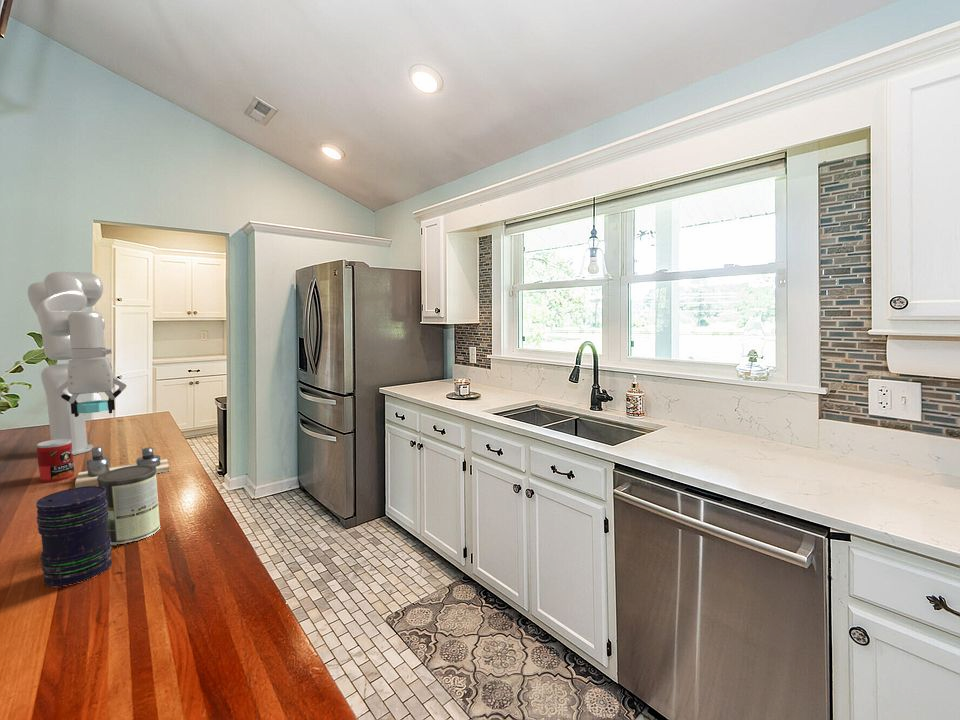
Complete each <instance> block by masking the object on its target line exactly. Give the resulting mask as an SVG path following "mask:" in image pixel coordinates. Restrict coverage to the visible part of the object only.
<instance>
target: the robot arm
mask: <svg viewBox="0 0 960 720" xmlns="http://www.w3.org/2000/svg"><path fill="white" fill-rule="evenodd" d="M103 292H104V285H103V282H102V280H101V279H100V277H99V276H98V275H96V274H95V273H90V272H75V271H55V272H51V273H48V274H47V275H46V276H45V278H44V280H43V281H37V282H33V283H31V284H29V286H28V287H27V296H28V301H29V303H30V306H31V307H32V309H33V311H34V312H35V314H36V316H37V321H38V323H39V327H40V329H41V330H40V331H41V338H42V345H43V352H44V354H45V357H46V358H48V360H53V361H68V363H58V364H53V365H48V366H46V367H44V368H43V369H42V371H41V372H40V373H41V374H40V377H41V378H40V379H41V382H42V386H43V388H44V393H45V397H46V404H47V412H48V423H49V432H50V433H49V434H50V440H56V439H70V440H71V442H72V451H73V456H75V455H80V454H84V453H88V452H90V451H92V448H93V447H94V445H93V444H91V443H88V438H87V437H88V435H87V426H86V425H87V424H86V415H85V414H86V413H78V412H77V404H78V403H81V402H84V401H83V398H81V397H80V396H79V395H83V394H85V395H86V394H95V393H104V394H105V395H106V396H107V397H108V409H109V410H108V414H113V411H115V410H116V406H115V405H116V403H115V399H116V398H117V397H119V396H120V394H121V393H122V392H123V391H124V390H125V389H126V388H127V384H125V382H122V381H120V380H118V379H116V378H115V377H114V374H113V367H112V363H111V360H110V357H106V356H107V355H111V354H112V349H111V348H110V349H109V348H107V347H106V346H105V335H104V330H105V328H106V327H105V324H106V322H105V318H104V316H103V315H102V314H101V313H100V312H98V311H95V310H84V308H91V307H94V306H95V305H96V304H97V303H98V302H99V300H100V299H101V297H102V296H103V294H104V293H103ZM115 385H116V386H118V388H117V389H116V390H115V391H114V392H113V391H112V390H113V389H114V387H115Z"/></svg>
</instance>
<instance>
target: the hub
mask: <svg viewBox="0 0 960 720" xmlns="http://www.w3.org/2000/svg"><path fill="white" fill-rule="evenodd" d="M141 454H142V456H140V457H137V458H136V461H135V462H136V463H137V465H151V466H155V467H157V466H159V465H160V460H161V456H160V455H156V454H154V447H145V448H142V449H141ZM136 463H135V464H136Z"/></svg>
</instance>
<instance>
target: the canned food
mask: <svg viewBox="0 0 960 720" xmlns="http://www.w3.org/2000/svg"><path fill="white" fill-rule="evenodd" d="M36 454H37V455H36V456H37V464H38V473H39V480H40V481H41V482H43V483H55V482H61V481H65V480H67V479H70V477H71V478H72V477H74V476H75V464H74V455H73V451H72V442H71V440H70V439H56V440H51V439H48V440H45V441H42V442H39V443H36ZM64 479H65V480H64Z"/></svg>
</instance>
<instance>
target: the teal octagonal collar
mask: <svg viewBox="0 0 960 720" xmlns="http://www.w3.org/2000/svg"><path fill="white" fill-rule="evenodd" d="M108 400H109V399H108ZM108 400H107V399H104V400H103V399H99V400H88V401H83V402H81V403H78V404H77V412H78V413H85V414H92V413H94V414H95V413H101V412H104V411H109V409H108Z"/></svg>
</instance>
